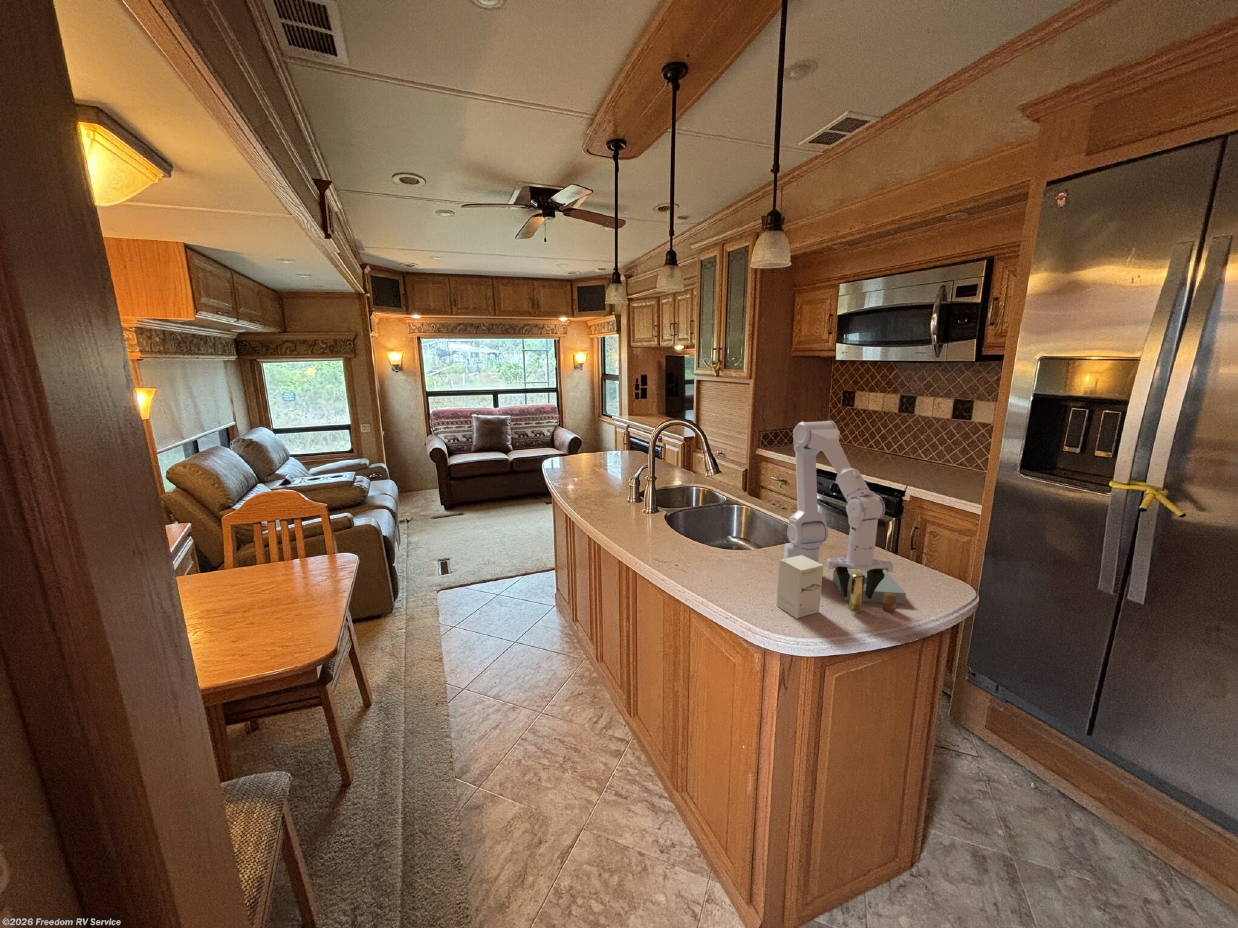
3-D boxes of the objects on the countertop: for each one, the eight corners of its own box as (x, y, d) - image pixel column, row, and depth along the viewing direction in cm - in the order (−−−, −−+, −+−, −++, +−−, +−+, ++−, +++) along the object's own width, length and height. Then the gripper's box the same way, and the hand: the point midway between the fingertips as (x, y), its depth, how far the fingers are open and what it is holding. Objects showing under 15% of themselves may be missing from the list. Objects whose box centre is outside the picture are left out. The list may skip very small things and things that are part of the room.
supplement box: (796, 619, 116) (800, 570, 113) (775, 605, 122) (778, 558, 119) (820, 612, 118) (824, 564, 116) (798, 599, 125) (801, 553, 122)
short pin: (884, 612, 118) (886, 597, 117) (880, 606, 121) (882, 591, 120) (896, 613, 118) (898, 598, 117) (892, 607, 121) (894, 592, 120)
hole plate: (845, 600, 124) (846, 589, 123) (832, 579, 136) (833, 569, 135) (904, 603, 122) (905, 593, 121) (886, 582, 134) (887, 572, 133)
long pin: (850, 611, 119) (854, 577, 117) (847, 605, 122) (850, 572, 120) (862, 611, 119) (866, 578, 117) (858, 606, 121) (862, 572, 119)
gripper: (834, 549, 114) (829, 602, 117) (900, 552, 111) (894, 606, 114) (826, 538, 120) (822, 588, 123) (888, 540, 118) (882, 591, 121)
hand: (856, 596), depth 119 cm, fingers open, 5 cm apart
